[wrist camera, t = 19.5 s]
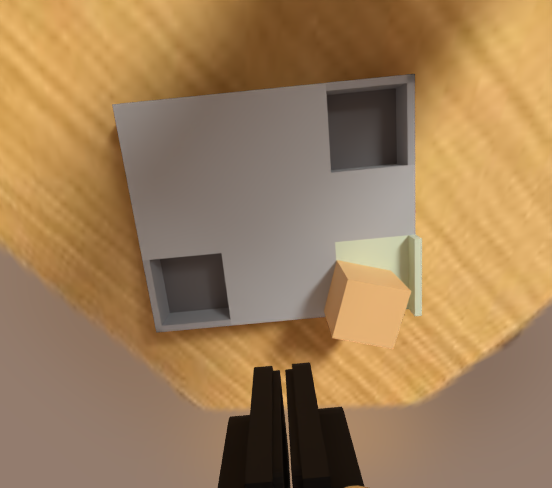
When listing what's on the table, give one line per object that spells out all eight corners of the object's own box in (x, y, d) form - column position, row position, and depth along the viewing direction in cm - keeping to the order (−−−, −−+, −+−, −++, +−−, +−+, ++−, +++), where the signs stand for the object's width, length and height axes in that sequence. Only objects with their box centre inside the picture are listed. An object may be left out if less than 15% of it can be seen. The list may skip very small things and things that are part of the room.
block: (391, 270, 33) (411, 291, 28) (376, 320, 34) (393, 349, 30) (336, 260, 33) (347, 279, 28) (323, 311, 34) (332, 338, 29)
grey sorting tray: (401, 80, 32) (422, 69, 28) (404, 295, 37) (421, 315, 33) (126, 108, 32) (104, 102, 28) (165, 318, 37) (151, 340, 33)
